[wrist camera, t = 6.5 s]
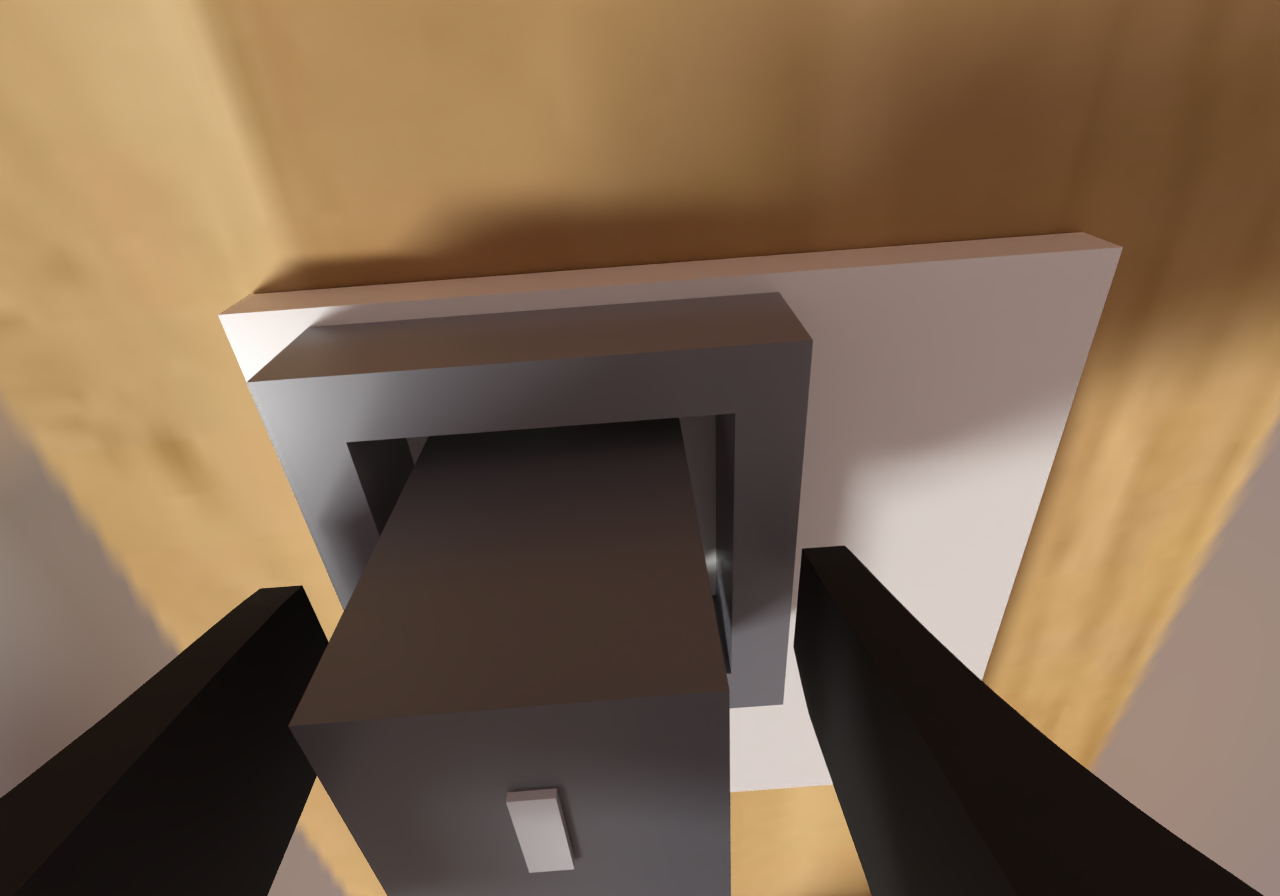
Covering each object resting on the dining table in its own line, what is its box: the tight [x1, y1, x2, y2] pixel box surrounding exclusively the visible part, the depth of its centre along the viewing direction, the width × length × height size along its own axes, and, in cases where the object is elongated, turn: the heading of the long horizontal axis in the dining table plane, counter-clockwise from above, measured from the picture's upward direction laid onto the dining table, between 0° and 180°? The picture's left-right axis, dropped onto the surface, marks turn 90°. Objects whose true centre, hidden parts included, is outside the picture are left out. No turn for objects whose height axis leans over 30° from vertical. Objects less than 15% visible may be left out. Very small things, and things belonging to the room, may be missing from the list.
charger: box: [288, 418, 731, 896], centre depth 9 cm, size 4×4×6 cm
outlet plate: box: [218, 232, 1123, 792], centre depth 13 cm, size 14×14×3 cm
